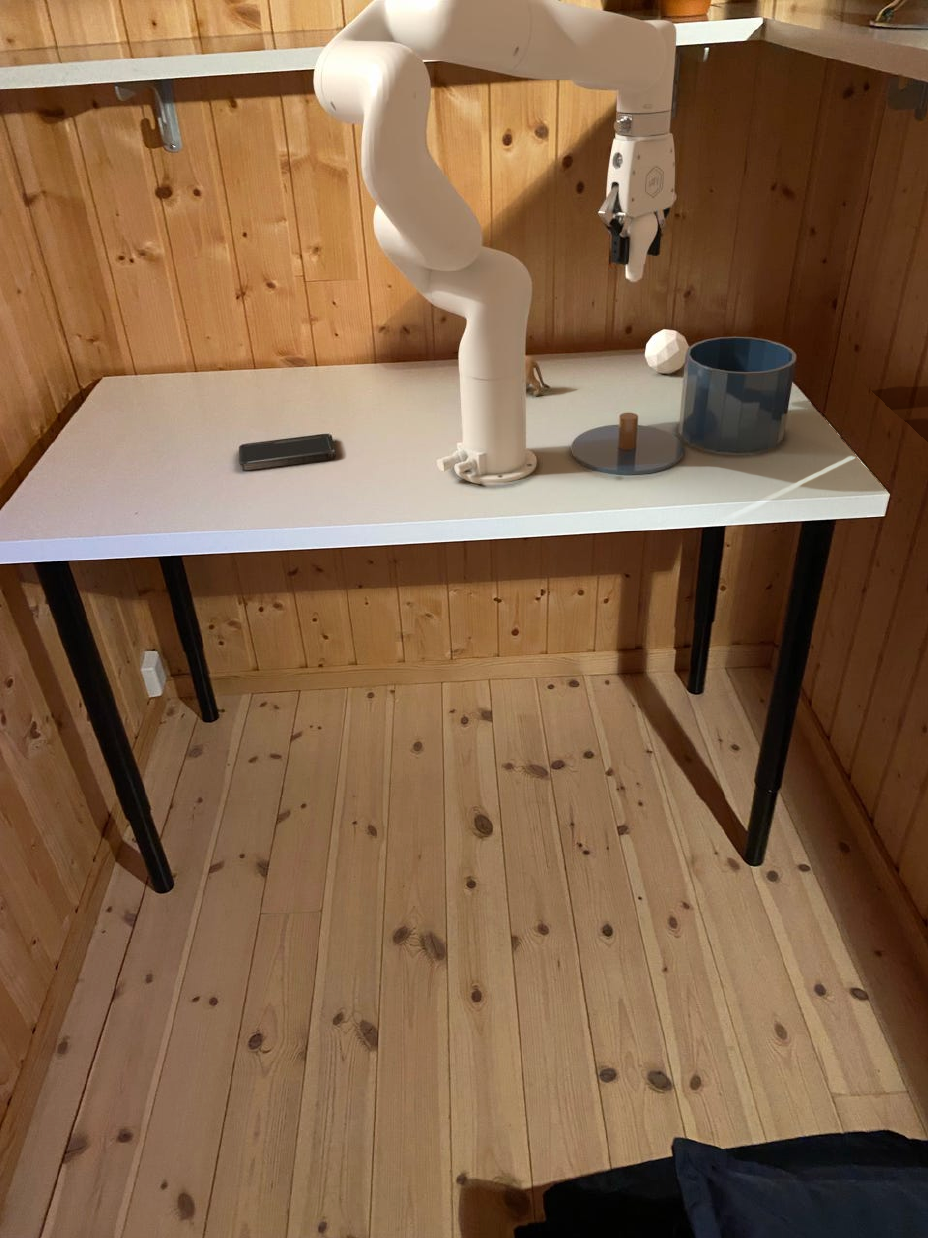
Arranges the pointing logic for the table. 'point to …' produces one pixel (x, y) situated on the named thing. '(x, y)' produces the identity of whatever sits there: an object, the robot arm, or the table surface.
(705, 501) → the table surface
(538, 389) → the lion figurine
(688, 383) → the dark blue cylindrical pot
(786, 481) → the table surface
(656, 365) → the geometric ball
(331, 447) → the phone
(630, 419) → the lid
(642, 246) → the lightbulb
